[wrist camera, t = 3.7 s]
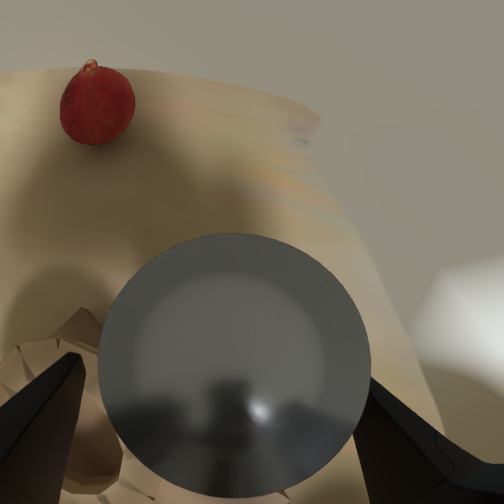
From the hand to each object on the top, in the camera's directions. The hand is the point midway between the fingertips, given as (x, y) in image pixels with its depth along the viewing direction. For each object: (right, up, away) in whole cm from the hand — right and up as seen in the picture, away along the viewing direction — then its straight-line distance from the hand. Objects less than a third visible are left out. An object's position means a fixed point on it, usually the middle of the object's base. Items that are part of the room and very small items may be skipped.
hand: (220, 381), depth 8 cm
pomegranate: (-11, +13, +12) cm, 21 cm away
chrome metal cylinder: (-2, -2, +8) cm, 9 cm away
